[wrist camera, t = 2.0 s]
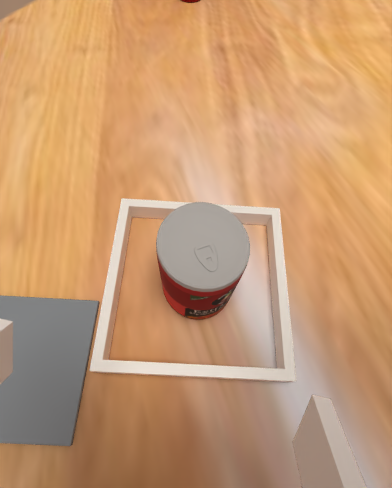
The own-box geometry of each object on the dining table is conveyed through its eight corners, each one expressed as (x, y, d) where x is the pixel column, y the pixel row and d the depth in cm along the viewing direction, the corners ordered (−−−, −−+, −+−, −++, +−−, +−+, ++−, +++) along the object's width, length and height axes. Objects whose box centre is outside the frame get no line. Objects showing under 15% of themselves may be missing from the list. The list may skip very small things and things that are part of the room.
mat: (99, 302, 32) (98, 300, 32) (72, 445, 27) (70, 446, 26) (-22, 295, 32) (-25, 294, 32) (-77, 438, 26) (-81, 439, 26)
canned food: (190, 335, 31) (194, 309, 21) (149, 277, 34) (136, 230, 24) (245, 294, 34) (271, 253, 24) (202, 242, 36) (210, 187, 26)
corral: (273, 219, 38) (279, 208, 36) (287, 381, 30) (296, 381, 27) (125, 209, 38) (121, 198, 36) (96, 372, 29) (89, 370, 27)
